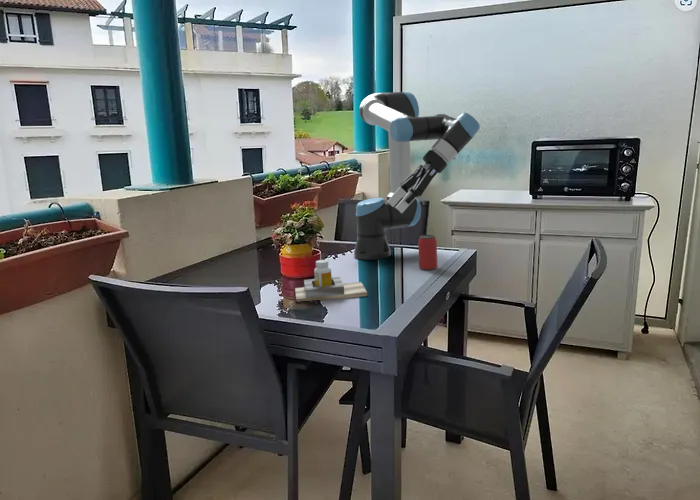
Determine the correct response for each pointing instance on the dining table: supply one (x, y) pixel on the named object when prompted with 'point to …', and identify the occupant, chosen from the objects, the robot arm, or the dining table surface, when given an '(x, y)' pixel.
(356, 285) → the socket board
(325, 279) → the supplement bottle
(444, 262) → the dining table surface
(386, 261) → the dining table surface
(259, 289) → the dining table surface
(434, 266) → the beer can
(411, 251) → the dining table surface
